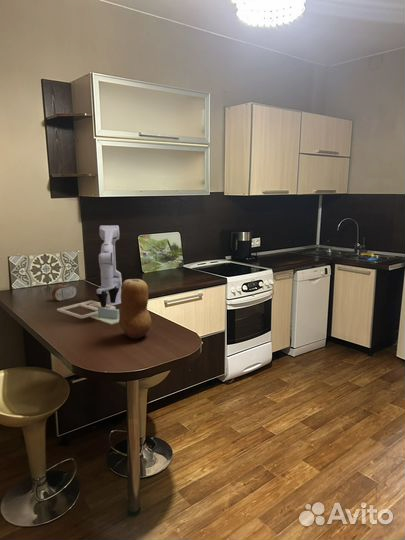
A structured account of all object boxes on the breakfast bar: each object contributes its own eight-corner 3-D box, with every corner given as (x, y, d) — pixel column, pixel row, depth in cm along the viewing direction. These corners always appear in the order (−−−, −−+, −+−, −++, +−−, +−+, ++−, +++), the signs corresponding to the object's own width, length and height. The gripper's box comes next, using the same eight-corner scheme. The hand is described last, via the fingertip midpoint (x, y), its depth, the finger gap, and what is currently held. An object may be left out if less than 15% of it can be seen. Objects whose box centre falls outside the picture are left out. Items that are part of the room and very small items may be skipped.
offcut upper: (94, 304, 217) (94, 302, 216) (106, 308, 211) (106, 305, 210) (88, 306, 214) (88, 304, 214) (100, 309, 208) (100, 307, 208)
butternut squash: (158, 336, 170) (156, 279, 165) (133, 345, 160) (131, 285, 156) (137, 329, 179) (135, 275, 174) (112, 337, 169) (110, 280, 165)
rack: (91, 302, 222) (91, 300, 222) (115, 309, 209) (115, 306, 209) (57, 311, 206) (56, 308, 206) (81, 319, 193) (81, 316, 193)
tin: (75, 296, 236) (74, 282, 234) (78, 297, 234) (77, 283, 232) (52, 301, 224) (51, 287, 223) (55, 302, 222) (54, 288, 221)
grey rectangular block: (100, 315, 197) (100, 307, 196) (119, 318, 193) (119, 309, 192) (98, 316, 195) (97, 308, 195) (117, 319, 191) (116, 310, 191)
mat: (106, 313, 203) (106, 312, 203) (127, 319, 193) (127, 318, 193) (90, 317, 195) (90, 316, 195) (111, 324, 186) (111, 323, 186)
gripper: (108, 273, 199) (110, 300, 201) (90, 279, 185) (92, 307, 188) (121, 275, 196) (122, 301, 199) (103, 281, 183) (104, 309, 185)
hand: (108, 304), depth 193 cm, fingers open, 7 cm apart
